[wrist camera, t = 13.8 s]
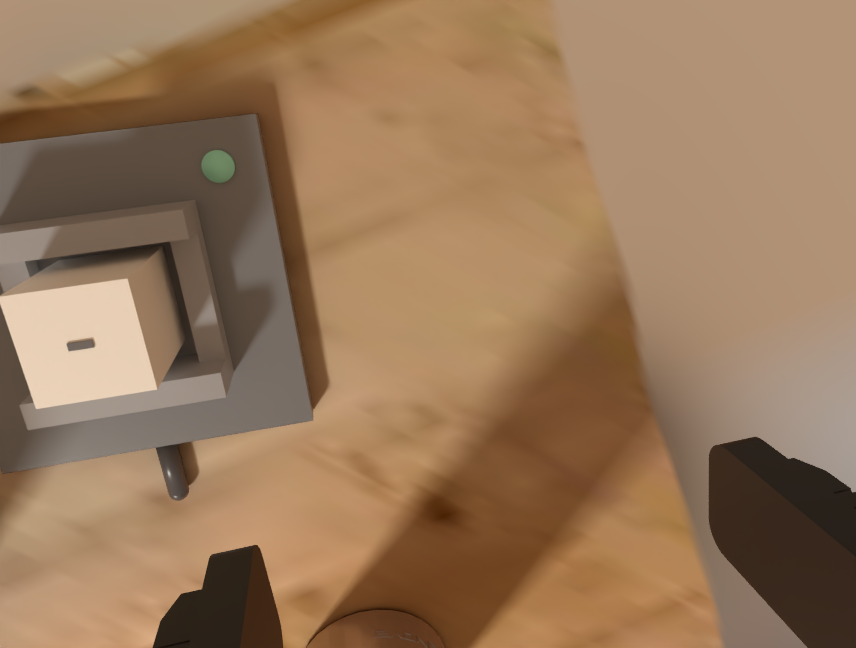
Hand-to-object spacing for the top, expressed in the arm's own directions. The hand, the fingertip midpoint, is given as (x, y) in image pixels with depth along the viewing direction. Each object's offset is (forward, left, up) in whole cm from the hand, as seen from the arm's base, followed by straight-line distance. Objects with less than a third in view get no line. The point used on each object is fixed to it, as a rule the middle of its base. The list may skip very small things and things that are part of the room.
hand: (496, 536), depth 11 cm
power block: (-8, +9, -23) cm, 26 cm away
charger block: (-7, +10, -22) cm, 25 cm away
